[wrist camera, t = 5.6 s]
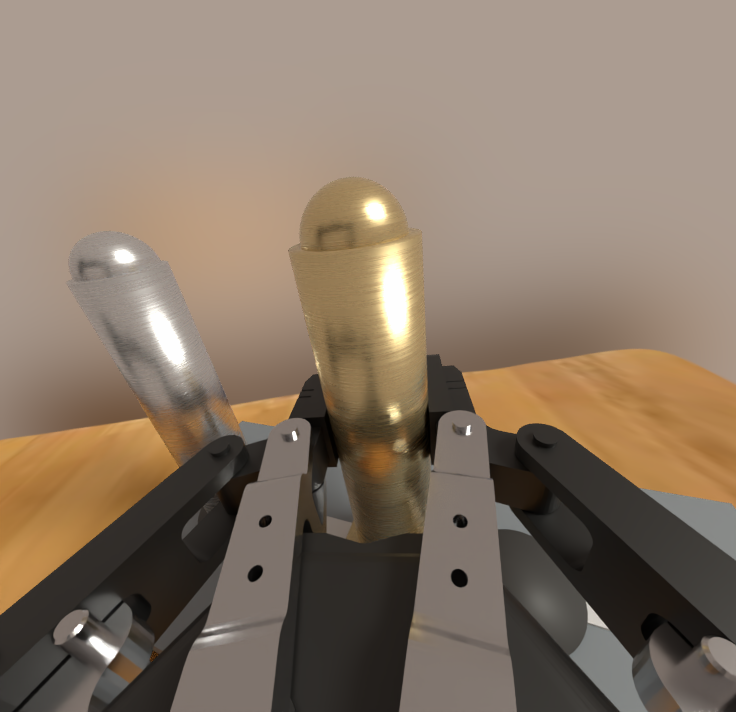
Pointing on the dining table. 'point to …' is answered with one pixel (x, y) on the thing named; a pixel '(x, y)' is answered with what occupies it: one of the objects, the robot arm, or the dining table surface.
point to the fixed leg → (152, 341)
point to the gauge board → (519, 580)
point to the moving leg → (369, 349)
